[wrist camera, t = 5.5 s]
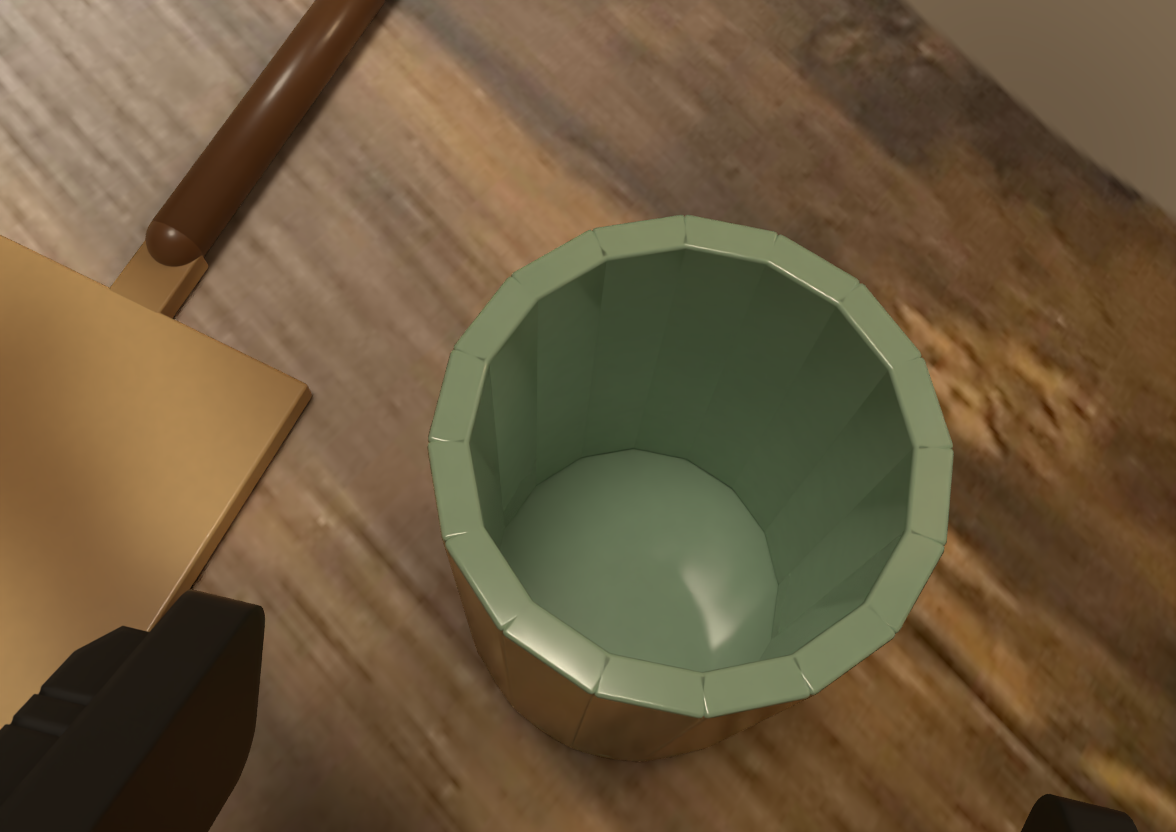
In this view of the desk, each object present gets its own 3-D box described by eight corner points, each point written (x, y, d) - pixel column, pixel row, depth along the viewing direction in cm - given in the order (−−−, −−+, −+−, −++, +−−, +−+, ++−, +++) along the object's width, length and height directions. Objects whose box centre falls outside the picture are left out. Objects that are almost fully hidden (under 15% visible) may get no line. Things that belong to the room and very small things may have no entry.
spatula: (42, 825, 19) (11, 824, 18) (-329, 618, 20) (-379, 605, 19) (599, -56, 27) (602, -95, 25) (310, -176, 28) (300, -220, 26)
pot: (860, 637, 21) (1059, 517, 13) (589, 831, 20) (627, 832, 12) (671, 383, 23) (746, 138, 15) (408, 545, 21) (334, 371, 13)
